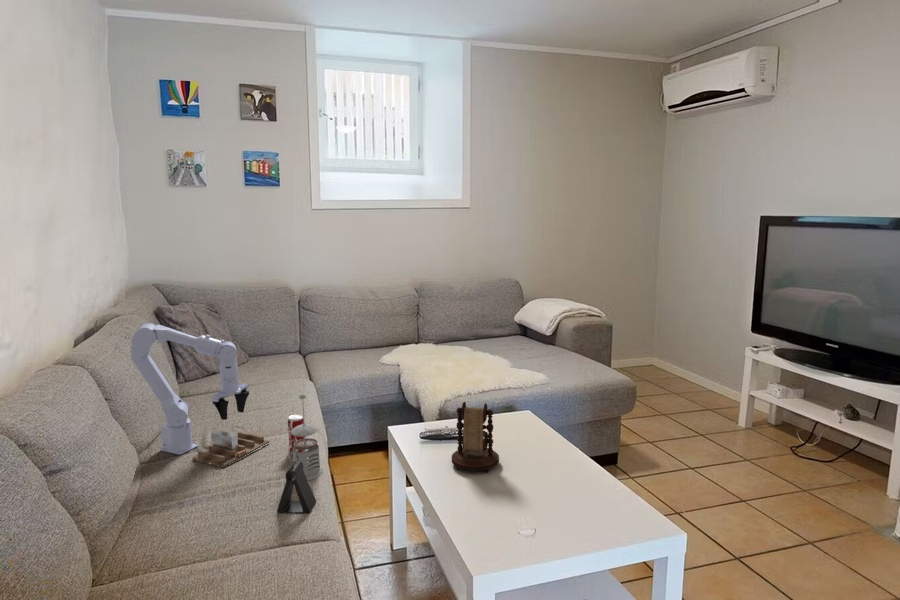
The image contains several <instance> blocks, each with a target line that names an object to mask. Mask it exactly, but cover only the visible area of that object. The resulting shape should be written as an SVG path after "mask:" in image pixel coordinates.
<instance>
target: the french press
mask: <svg viewBox="0 0 900 600" xmlns="http://www.w3.org/2000/svg"><path fill="white" fill-rule="evenodd" d="M306 398H307V396H306V394H305V393H301V394H300V395H299V399H300V400H301V401H302V403H304V399H306ZM302 413H303V414H302V416H303V419H304V420H305V411H304V405H302ZM318 431H319V427H318V426H316V425H313V424H311V423H310V424H309V423H305V422H304V424H302V425H299V426H297V427H295V428H294V429H292V430H291V434H292V435H294V436H298V437H303V436H305V439H301V440H297V441H296V442H295V440H294V439H293V440H294V443H293V446H294V447H293V454H292V459H291V455H290V446H289V445H288V446H289V447H288V454H287V455H288V459H289V461H290V462H291V463H292V464H293V463H294V462H295V461H296V463H295V465H294V468H295V467H296V465H297V464H298V462H299V461H300V462H302V463H303V471H304V474H305V476H306V478H307V481H311V480H315V479H317V478H320V477H322V475H323V474H324V469H323V468H322V467H321V464H320V448H319V447H320V446H319V445H318V440H317V439H315V438H309V437H308V436H312V435H314V434H316V433H317V432H318ZM307 437H308V438H307ZM293 440H292V441H293ZM291 443H292V442H291ZM291 443H290V445H291ZM294 450H305V452H297V451H296V452H294ZM306 450H307V451H306Z"/></svg>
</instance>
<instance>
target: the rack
mask: <svg viewBox="0 0 900 600" xmlns="http://www.w3.org/2000/svg"><path fill="white" fill-rule="evenodd" d="M237 438H238V451H239V452H237V453H235V451H232V450H228V449H223V448H219V447H214V446H212V445H209V446H207V448H208V449H207V450H205V451H203V450H198V451H197V455H194V456H193V457H192V461H194V460H196V461H195V462H198V461H201V462H200V463H202V462H206V463H211V464H215V465H219V466H223V467H225V468H227V467H228V466H227V465H229V464H230V463H232V462H234V461H236V460H238V459H240V458H242V457H244V456H245V455H247V454H249V453H251V452H253V451H254V450H256V449H258V448H260V447H261V446H263V445H265V444H267V443H269V442H270V440H265V437H264V436H263V435H258V434H252V433H249V432H247V433H246V432H242V431H238V432H237ZM270 443H271V442H270ZM244 458H245V457H244ZM242 459H243V458H242ZM240 460H241V459H240ZM206 463H205V464H206ZM211 464H210V465H211ZM215 465H214V466H215ZM219 466H218V467H219ZM226 466H227V467H226ZM229 466H230V465H229ZM223 467H222V468H223Z"/></svg>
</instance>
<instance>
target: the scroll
mask: <svg viewBox="0 0 900 600" xmlns="http://www.w3.org/2000/svg"><path fill="white" fill-rule="evenodd" d="M456 415H457V422H456V428H457V430H458V431H457V438H456V440H457V445H458V446H457V450H455V451H454V452H453V453H452V454H451V463H452V465H454V466H455V469H456V470H459V469H462V470H466V471H486V473H489V472H490V469H492V468H495V467H496V466H497V465H499V463H500V455H499V453H497V452H496V450H495V451H494V450H493V449H494V448H493V444H494V439H493V433H492V432H493V431H494V424H493V422H494V421H493V417H494V416H493V415H494V411H493V409H488V404H487V403H486V402H485V403H484V405H483V407H470V406H467V403H466V401H463V402H462V404H461V407H458V408H457V409H456ZM487 418H488V419H487ZM486 422H487V424H486V425H485V423H486ZM462 430H463V431H462ZM484 430H487V431H485V433H484Z"/></svg>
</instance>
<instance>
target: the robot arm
mask: <svg viewBox="0 0 900 600" xmlns="http://www.w3.org/2000/svg"><path fill="white" fill-rule="evenodd" d="M156 341H157V342H156ZM168 341H169V342H173V343H178V344H181V345H186V346H189V347H192V348H194V351H195V352H196V353H201V354H204V355H207V356H211V357H214V358H217V357H218V359H219V375H220V386H221V387H220V388H221V390H219V391H218V392H216V393H215V394H213V395H211V402H212V404H213V405H214V406H215V409H216V410H217V412H218V414H219V416H220V419H221V420H224V421H226V420H228V405H229V402H230V401H228V400H226V399H227V398H228V397H231V396H234V399H235V401H236V402H235V403H236V410H237V413H244V411H245V408H246V402H247V399H248V397H249V395H250V391H249V383H241V384H240V379H239V370H238V367H239V366H238V362H237V361H238V359H237V355H238V354H237V353H238V352H237V347H236V345H235V343H233V342H231V341H230V340H224V339H220V340H219V339H217V338H213V337H211V335H210V334H205V335H204V334H202V335H200V336H194V335H191V334H188V333H185V332H183V331H179V330H177V329H174V328H171V327H167V326H165V325H162V324H155V323H152V322H145V323H143V324H141V325H140V326H139V328H138V329H137V330H136V331H135V332H134V334H133V336H132V338H131V339H130V343H131V347H130V348H131V349H130V350H131V351H130V359H131V361H132V362H133V364H134V365H135V367H136V368H137V370H138V371H139V373H140V374H141V376H142V378H143V379H144V381H145V382H146V383H147V384H148V386H149V387H150V389H151V390H152V392H153V394H154V395H155V396H156V398H157V399H158V400H159V402H160V404H161V407H162V411H163V412H164V414H165V417H166V418H165V420H166V423H165V422H164V424H163V425H162V427H161V430H160V437H161V446H162V448H160V451H161V452H166V453H171V454H175V455H182V454H185V453H186V452H189V451H191V450H193V449H196V448H197V447H199V444H198V443H193V434H192V423H191V419H190V418H189V417H188V415H189V411H190V406H189V404H188V403H187V402H186V401H184V400H182V398H180V396H179V395H178V394H176V393H175V392H174V390H173V389H172V386H170V384H169V382H168V380H166V377H164V375H163V374H162V371H160V368H159V367H158V366H157V365H156V363H155V361H154V360H153V359H152V357H151V356H150V352H151V350H152V347H153V345H154V343H155V342H156V343H157V344H160V343H164V342H168ZM225 398H226V399H225Z"/></svg>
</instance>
